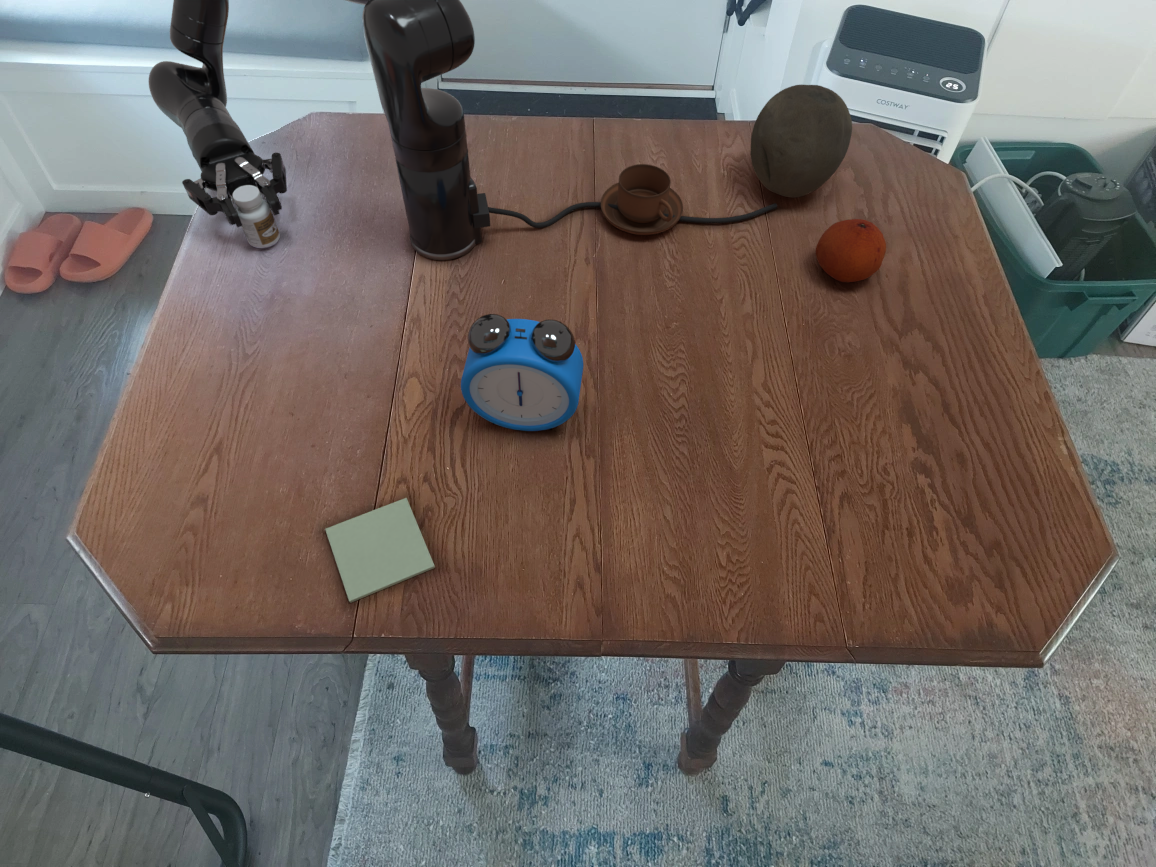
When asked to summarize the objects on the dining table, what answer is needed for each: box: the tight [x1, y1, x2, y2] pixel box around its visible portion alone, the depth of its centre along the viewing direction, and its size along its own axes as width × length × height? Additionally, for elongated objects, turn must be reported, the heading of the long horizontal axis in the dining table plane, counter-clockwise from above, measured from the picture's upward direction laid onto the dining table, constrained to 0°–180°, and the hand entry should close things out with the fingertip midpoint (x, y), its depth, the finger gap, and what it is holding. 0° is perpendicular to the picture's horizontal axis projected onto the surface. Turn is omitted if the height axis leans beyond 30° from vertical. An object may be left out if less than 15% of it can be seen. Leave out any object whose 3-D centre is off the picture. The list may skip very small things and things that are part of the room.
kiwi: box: [749, 84, 853, 199], centre depth 110 cm, size 14×14×15 cm
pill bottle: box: [233, 185, 281, 249], centre depth 103 cm, size 4×4×8 cm
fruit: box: [815, 218, 887, 283], centre depth 102 cm, size 9×9×8 cm
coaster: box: [324, 497, 436, 604], centre depth 79 cm, size 9×9×1 cm
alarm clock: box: [460, 313, 584, 432], centre depth 84 cm, size 13×6×15 cm, turn 84°
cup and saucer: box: [600, 163, 684, 236], centre depth 109 cm, size 12×12×6 cm
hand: (256, 215), depth 100 cm, fingers closed on pill bottle, 4 cm apart
